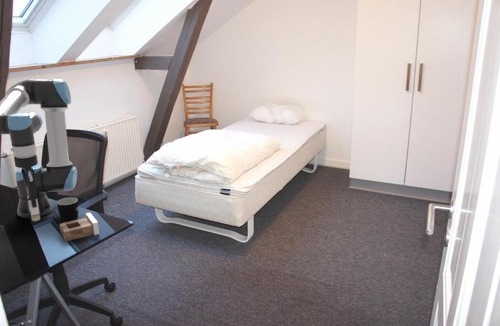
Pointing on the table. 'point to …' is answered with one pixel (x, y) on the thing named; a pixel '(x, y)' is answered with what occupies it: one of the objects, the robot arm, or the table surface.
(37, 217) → the dowel
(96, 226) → the rail
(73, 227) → the block
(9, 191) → the table surface
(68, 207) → the mug
